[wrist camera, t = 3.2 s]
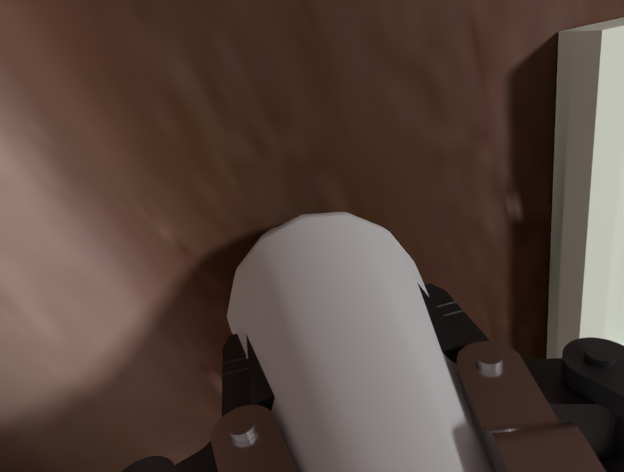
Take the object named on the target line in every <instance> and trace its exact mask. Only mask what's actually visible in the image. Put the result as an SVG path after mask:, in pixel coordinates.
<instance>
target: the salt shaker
mask: <svg viewBox="0 0 624 472" xmlns="http://www.w3.org/2000/svg"><path fill="white" fill-rule="evenodd" d="M418 284H419V285H420V286H421V288H422V289H423V290H424V291H425V293H426V294H427V295H428V293H427V290H426V288H425V286H424V283H423V281H422V279H421V276H420V274H419V272H418V269H417V267H416V265H415V263H414V261H413V260H412V259H411V257H410V256H409V255H408V254H407V252H406V251H405V250H404V249H403V248H402V246H401V245H400V244H399V243H398V241H397V240H396V239H395V238H394V237H393V235H392V234H391V233H390V232H389V231H388V230H386V229H385V228H383V227H382V226H379V225H377V224H374V223H372V222H369V221H367V220H364V219H362V218H359V217H357V216H354V215H352V214H349V213H347V212H332V213H318V214H302V215H300V216H298V217H296V218H294V219H292V220H290V221H288V222H286V223H284V224H283V225H281V226H278V227H274V228H272V229H271V230H269V231H268V232H266V233H265V234H263V235H262V236H261V237H260V238H259V240H258V241H257V242H256V244H255V245H254V246H253V248H252V249H251V250H250V252H249V253H248V254H247V255H246V257H245V258H244V259H243V261H242V262H241V263H240V265H239V266H238V267H237V269H236V272H235V276H234V281H233V286H232V291H231V296H230V302H229V307H228V312H227V320H228V323H229V326H230V329H231V331H232V334H237V335H238V337H239V339H240V342H241V344H242V347H243V349H244V351H245V354H246V358H247V359H248V351H247V337H246V334H247V336H248V338H249V341H250V343H251V345H252V347H253V350H254V352H255V354H256V356H257V358H258V361H259V363H260V365H261V367H262V369H263V372H264V374H265V376H266V378H267V381H268V383H269V385H270V387H271V389H272V392H273V394H274V396H275V399H274V403H273V407H272V411H271V412H272V414H273V415H274V418H275V420H276V422H277V425H278V427H279V429H280V432H281V434H282V436H283V439H284V441H285V443H286V446H287V448H288V450H289V453H290V455H291V457H292V460H293V462H294V464H295V467H296V469H297V471H298V472H493V471H492V468H491V466H490V463H489V460H488V458H487V455H486V452H485V450H484V447H483V444H482V442H481V439H480V436H479V434H478V431H477V428H476V426H475V423H474V420H473V418H472V415H471V412H470V410H469V407H468V404H467V402H466V399H465V396H464V394H463V391H462V388H461V386H460V383H459V380H458V373H457V366H456V364H455V363H454V362H452V361H451V360H449V359H448V358H447V357H446V356H445V355H444V354H443V352H442V351H441V348H440V345H439V342H438V339H437V336H436V334H435V331H434V328H433V325H432V322H431V319H430V317H429V314H428V311H427V308H426V305H425V302H424V300H423V297H422V294H421V291H420V288H419V285H418ZM428 296H429V295H428Z"/></svg>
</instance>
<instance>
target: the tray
mask: <svg viewBox="0 0 624 472" xmlns="http://www.w3.org/2000/svg"><path fill="white" fill-rule="evenodd" d="M587 337H593V338H602V339H607V340H610V341H613V342H616V343H619V344H621V345H623V346H624V17H623V18H619V19H614V20H609V21H605V22H600V23H596V24H591V25H586V26H582V27H577V28H573V29H568V30H563V31H559V35H558V62H557V88H556V115H555V142H554V168H553V195H552V222H551V248H550V275H549V302H548V328H547V355H546V359H551V358H562V352H563V349H564V347H565V346H566V345H567V344H568V343H569V342H571V341H573V340H575V339H579V338H587Z"/></svg>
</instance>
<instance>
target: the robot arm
mask: <svg viewBox="0 0 624 472" xmlns="http://www.w3.org/2000/svg"><path fill="white" fill-rule="evenodd" d="M418 285H419V284H418ZM424 286H425V288H426V290H427V293H428V295H429V296H428V295H427V294H426V293H425V291H424V290H423V289H422V288H421V286H420V285H419V288H420V291H421V294H422V297H423V300H424V302H425V305H426V308H427V311H428V314H429V317H430V319H431V322H432V325H433V328H434V331H435V334H436V336H437V339H438V342H439V345H440V348H441V351H442V352H443V354H444V355H445V356H446V357H447V358H448V359H449V360H451V361H452V362H454V363H455V364H456V366H457V373H458V380H459V383H460V386H461V388H462V391H463V394H464V396H465V399H466V402H467V404H468V407H469V410H470V412H471V415H472V418H473V420H474V423H475V426H476V428H477V431H478V434H479V436H480V439H481V442H482V444H483V447H484V450H485V452H486V455H487V458H488V460H489V463H490V466H491V468H492V471H493V472H624V346H623V345H621V344H619V343H616V342H613V341H610V340H607V339H602V338H593V337H587V338H579V339H575V340H573V341H571V342H569V343H568V344H567V345H566V346H565V347H564V349H563V352H562V358H551V359H527V358H522V357H521V356H520V355H519V353H518V352H516V351H515V350H514V349H512V348H511V347H509V346H507V345H504V344H502V343H498V342H492V341H489V339H488V338H487V337H486V336H485V335H484V334H483V333H482V331H481V330H480V329H479V328H478V327H477V326H476V325H475V324H474V322H473V321H472V320H471V319H470V318H469V317H468V316H467V314H466V313H465V312H463V311H462V309H461V308H460V307H459V305H458V304H457V303H455V301H454V300H453V299H452V297H451V296H450V295H449V294H448V293H447V292H446V291H445V290H443V289H441V288H439V287H437V286H435V285H433V284H431V283H430V284H426V285H424ZM246 337H247V351H248V359H247V358H246V354H245V351H244V349H243V347H242V344H241V342H240V339H239V337H238V335H237V334H233V335H230V337H229V338H228V340H227V342H226V344H225V346H224V347H223V368H222V373H223V376H222V418H221V419H220V420H219V421H218V423H217V424H216V425H215V427H214V429H213V432H212V436H211V441H210V442H209V443H208V444H207V445H206V446H205V447H204V448H203V449H201V450H200V451H198V452H197V453H195V454H194V455H192V456H190V457H188V458H187V459H185V460H183V461H181V462H180V463H178V464H176V465H174V464H173V462H172V461H171V460H169V459H168V458H165V457H162V456H152V457H147V458H144V459H141V460H139V461H137V462H135V463H133V464H131V465H130V466H128V467H127V468H126V469H124V470H123V471H122V472H298V471H297V469H296V467H295V464H294V462H293V460H292V457H291V455H290V453H289V450H288V448H287V446H286V443H285V441H284V439H283V436H282V434H281V432H280V429H279V427H278V425H277V422H276V420H275V418H274V415H273V414H272V412H271V411H272V407H273V403H274V399H275V396H274V394H273V392H272V389H271V387H270V385H269V383H268V381H267V378H266V376H265V374H264V372H263V369H262V367H261V365H260V363H259V361H258V358H257V356H256V354H255V352H254V350H253V347H252V345H251V343H250V341H249V338H248V336H247V334H246Z"/></svg>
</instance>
